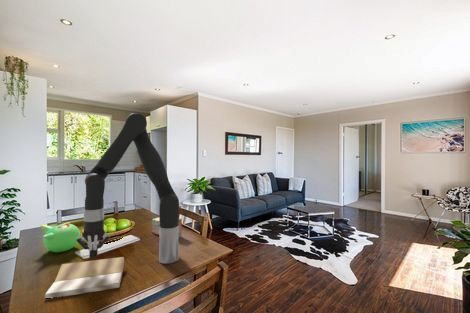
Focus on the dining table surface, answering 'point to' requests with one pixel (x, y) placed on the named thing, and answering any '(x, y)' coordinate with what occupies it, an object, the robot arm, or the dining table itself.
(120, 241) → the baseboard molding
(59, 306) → the dining table surface
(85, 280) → the whitewashed oak board
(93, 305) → the dining table surface
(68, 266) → the honey oak plank
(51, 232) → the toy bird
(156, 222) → the stack of blocks
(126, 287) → the dining table surface
